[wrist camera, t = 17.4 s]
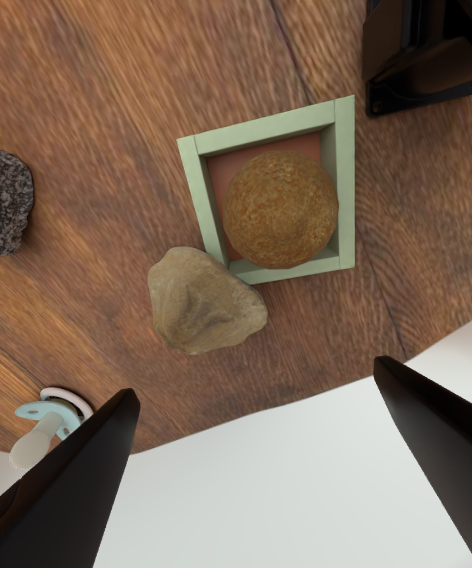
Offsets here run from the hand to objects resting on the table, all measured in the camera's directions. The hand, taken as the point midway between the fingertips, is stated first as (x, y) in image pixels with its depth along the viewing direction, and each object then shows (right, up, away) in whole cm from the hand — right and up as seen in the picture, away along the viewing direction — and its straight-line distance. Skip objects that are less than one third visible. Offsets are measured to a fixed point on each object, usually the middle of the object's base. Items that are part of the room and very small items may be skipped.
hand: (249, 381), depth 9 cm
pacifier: (-20, -11, +19) cm, 30 cm away
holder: (+2, +10, +9) cm, 13 cm away
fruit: (+2, +9, +8) cm, 13 cm away
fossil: (-2, -1, +7) cm, 8 cm away
